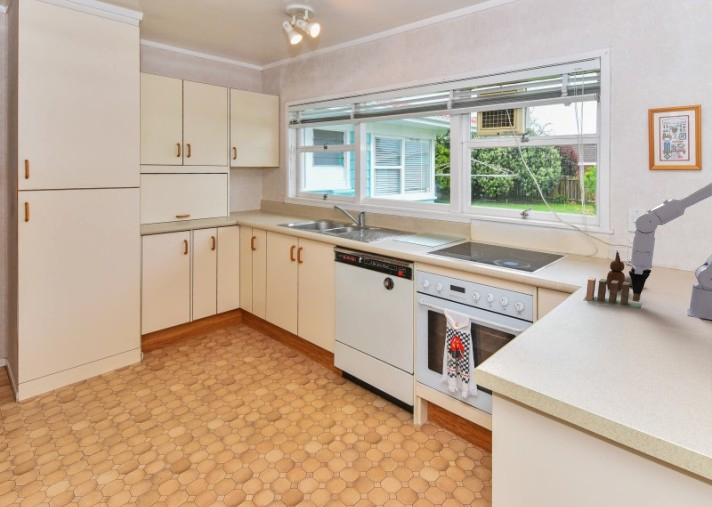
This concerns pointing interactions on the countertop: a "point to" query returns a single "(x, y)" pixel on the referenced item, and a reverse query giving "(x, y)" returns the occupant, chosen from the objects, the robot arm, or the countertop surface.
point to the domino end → (590, 288)
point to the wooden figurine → (616, 272)
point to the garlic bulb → (628, 279)
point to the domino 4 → (636, 297)
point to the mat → (617, 303)
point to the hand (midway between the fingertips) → (637, 292)
